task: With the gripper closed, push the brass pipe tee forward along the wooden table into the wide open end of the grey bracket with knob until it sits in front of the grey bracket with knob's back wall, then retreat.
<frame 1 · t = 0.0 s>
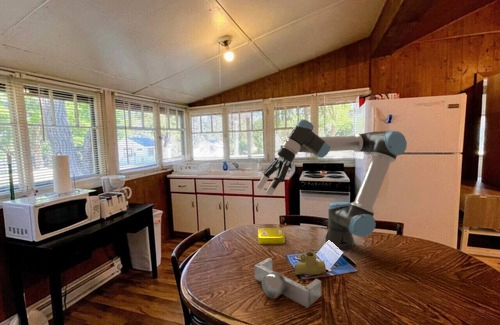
hand: (263, 191, 109), 36 cm above the table, tool tilted 35°, fingers open, 13 cm apart
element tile: (270, 239, 146), on the table
brass pipe tee: (308, 271, 110), on the table
grey bracket with knob: (289, 284, 100), on the table
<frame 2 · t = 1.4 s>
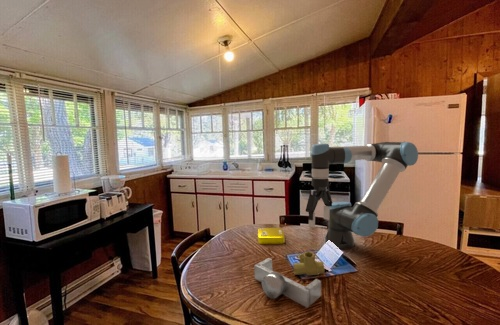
hand: (319, 222, 115), 19 cm above the table, tool pointing down, fingers open, 13 cm apart
nothing on the table moved.
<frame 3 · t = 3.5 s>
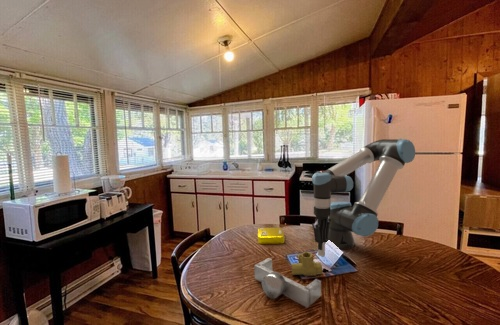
hand: (321, 255, 117), 3 cm above the table, tool pointing down, fingers closed
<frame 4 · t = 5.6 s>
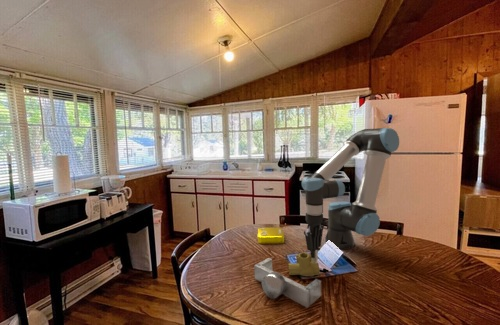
hand: (314, 263, 113), 2 cm above the table, tool pointing down, fingers closed
brass pipe tee: (303, 273, 109), on the table, touching gripper
everything else where it was.
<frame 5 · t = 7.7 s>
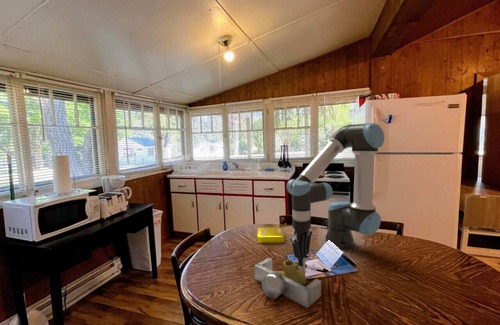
hand: (302, 272, 106), 1 cm above the table, tool pointing down, fingers closed
brass pipe tee: (289, 281, 103), on the table, touching grey bracket with knob, gripper
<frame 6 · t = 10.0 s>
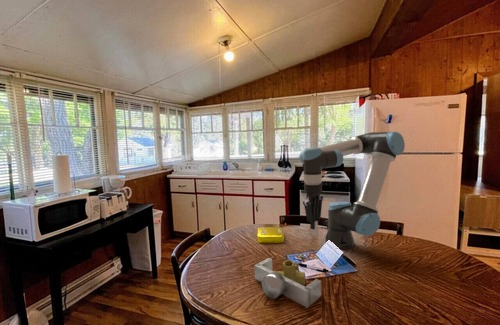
hand: (314, 235, 111), 15 cm above the table, tool pointing down, fingers closed
brass pipe tee: (289, 281, 103), on the table
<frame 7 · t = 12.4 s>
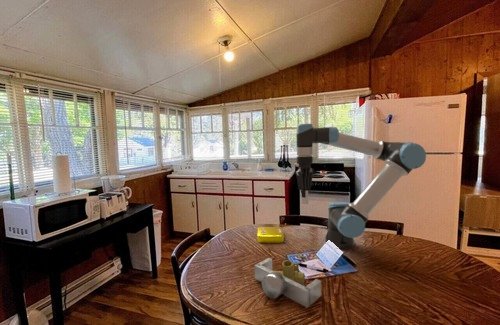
hand: (305, 203, 123), 26 cm above the table, tool pointing down, fingers closed
at the end: brass pipe tee inside the target area (2.6 cm from its centre), on the table; brass pipe tee moved 12.5 cm from its start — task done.
